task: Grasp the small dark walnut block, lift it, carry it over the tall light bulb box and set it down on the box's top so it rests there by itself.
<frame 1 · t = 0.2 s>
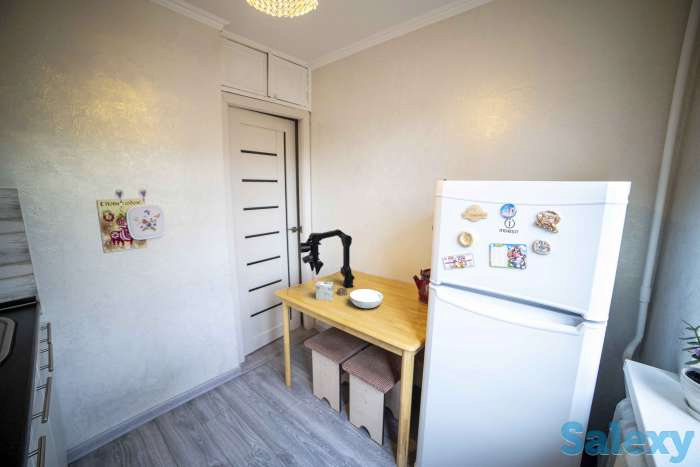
hand: (314, 273, 192), 14 cm above the table, fingers open, 9 cm apart
serving bowl: (366, 305, 176), on the table
light bulb box: (324, 298, 185), on the table
walnut block: (342, 294, 193), on the table
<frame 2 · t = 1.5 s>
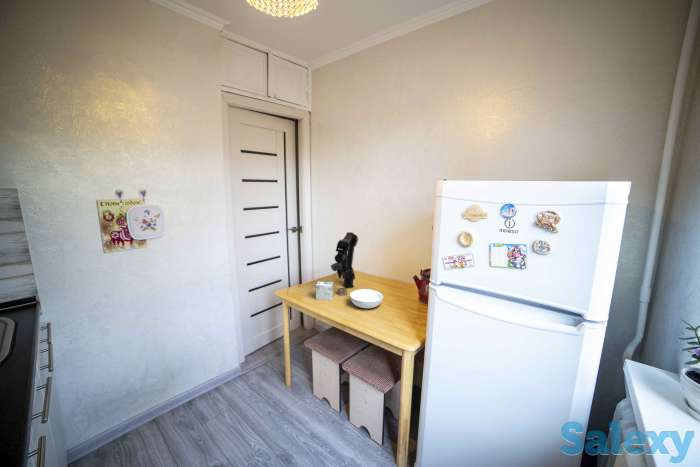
hand: (342, 280, 191), 10 cm above the table, fingers open, 9 cm apart
nothing on the table moved.
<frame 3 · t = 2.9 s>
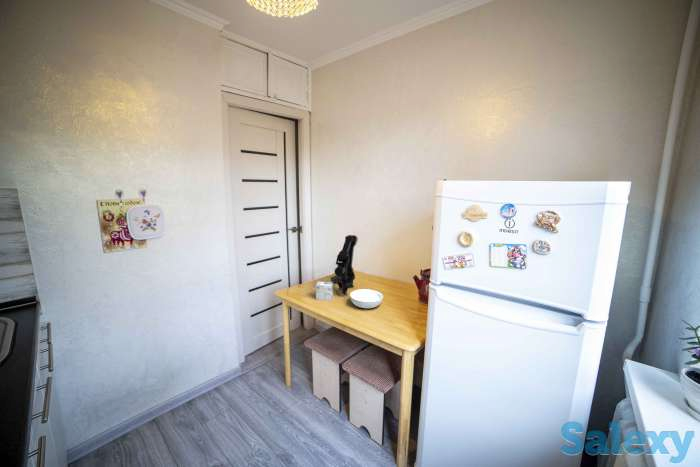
hand: (342, 292, 192), 1 cm above the table, fingers closed on walnut block, 5 cm apart
walnut block: (342, 294, 193), on the table, touching gripper
everything else where it was.
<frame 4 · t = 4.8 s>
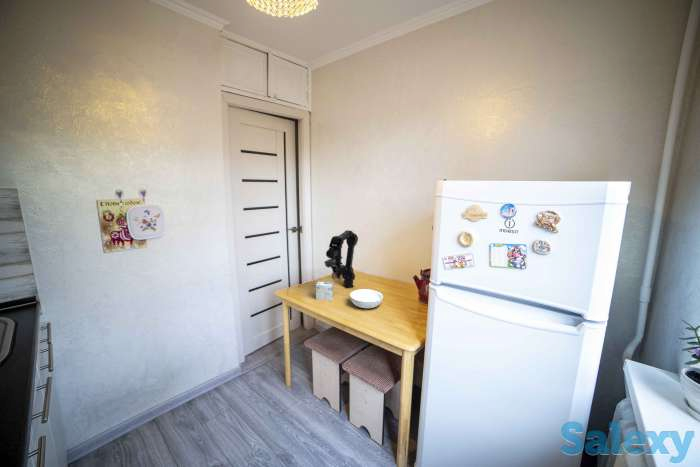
hand: (336, 277, 187), 13 cm above the table, fingers closed on walnut block, 5 cm apart
walnut block: (336, 278, 188), point 12 cm above the table, touching gripper
everything else where it was.
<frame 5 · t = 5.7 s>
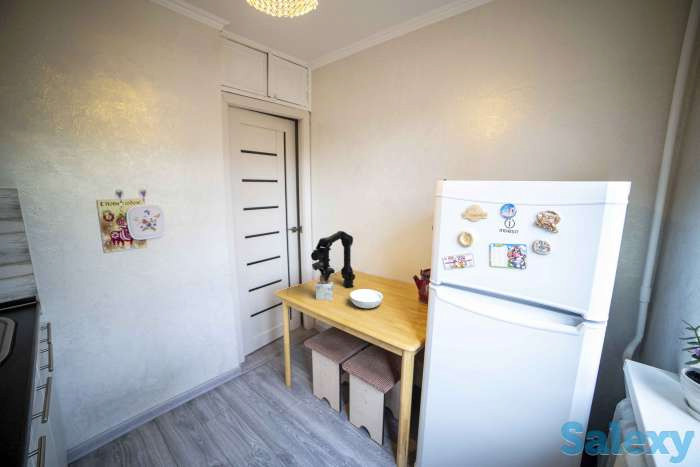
hand: (324, 280, 183), 13 cm above the table, fingers closed on walnut block, 5 cm apart
walnut block: (324, 281, 183), point 12 cm above the table, touching gripper
everything else where it was.
when the fingers open (12 cm above the table, at t = 6.6 s): walnut block stays where it is, resting on light bulb box.
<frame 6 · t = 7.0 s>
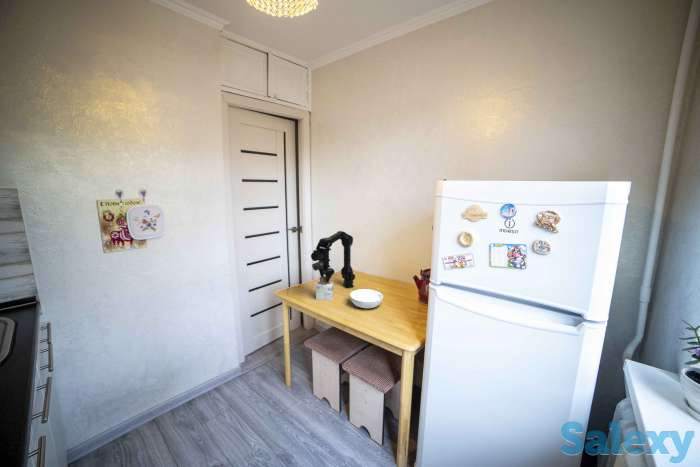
hand: (324, 280, 183), 12 cm above the table, fingers open, 9 cm apart
light bulb box: (324, 298, 185), on the table, touching walnut block
walnut block: (324, 283, 183), point 11 cm above the table, touching light bulb box
everything else where it was.
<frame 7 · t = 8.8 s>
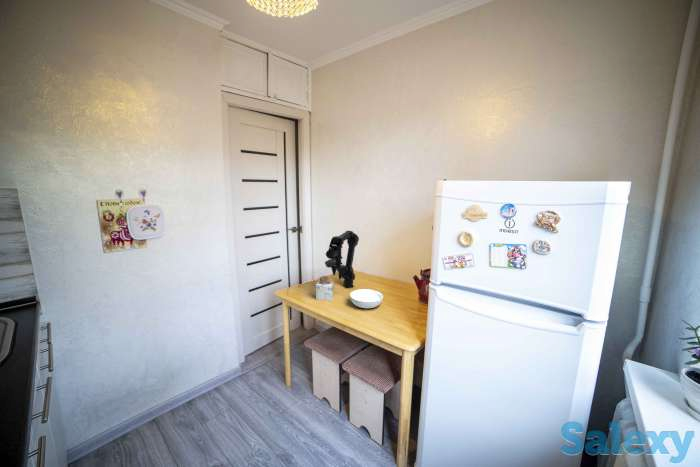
hand: (337, 277, 189), 13 cm above the table, fingers open, 9 cm apart
nothing on the table moved.
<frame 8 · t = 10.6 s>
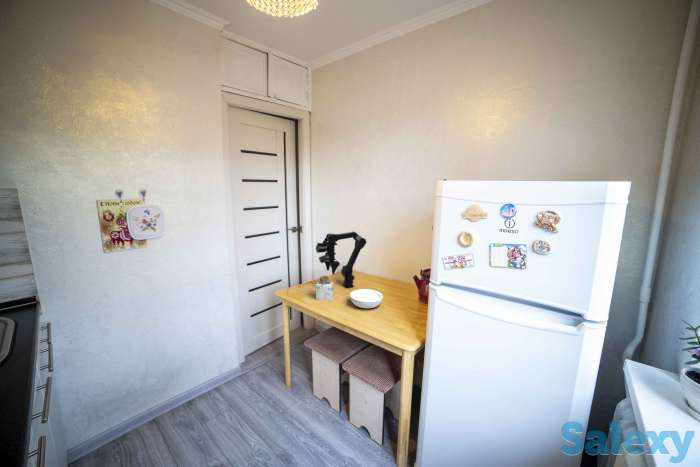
hand: (330, 272, 199), 13 cm above the table, fingers open, 9 cm apart
nothing on the table moved.
at the end: walnut block inside the target area on the light bulb box (0.1 cm from its centre), point 11.0 cm above the light bulb box's base; walnut block touching light bulb box; walnut block tilted 0° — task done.
